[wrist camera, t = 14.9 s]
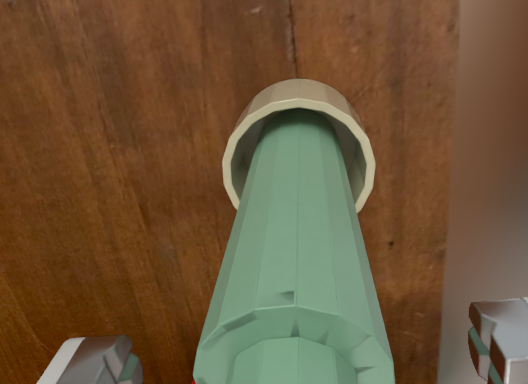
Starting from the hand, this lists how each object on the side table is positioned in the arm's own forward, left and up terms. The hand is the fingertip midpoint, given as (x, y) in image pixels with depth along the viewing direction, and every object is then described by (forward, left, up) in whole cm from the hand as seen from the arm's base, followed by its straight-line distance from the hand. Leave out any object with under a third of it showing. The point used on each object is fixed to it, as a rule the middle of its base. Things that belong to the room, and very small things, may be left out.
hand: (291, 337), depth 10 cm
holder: (0, 0, -15) cm, 15 cm away
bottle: (0, 0, -14) cm, 14 cm away
